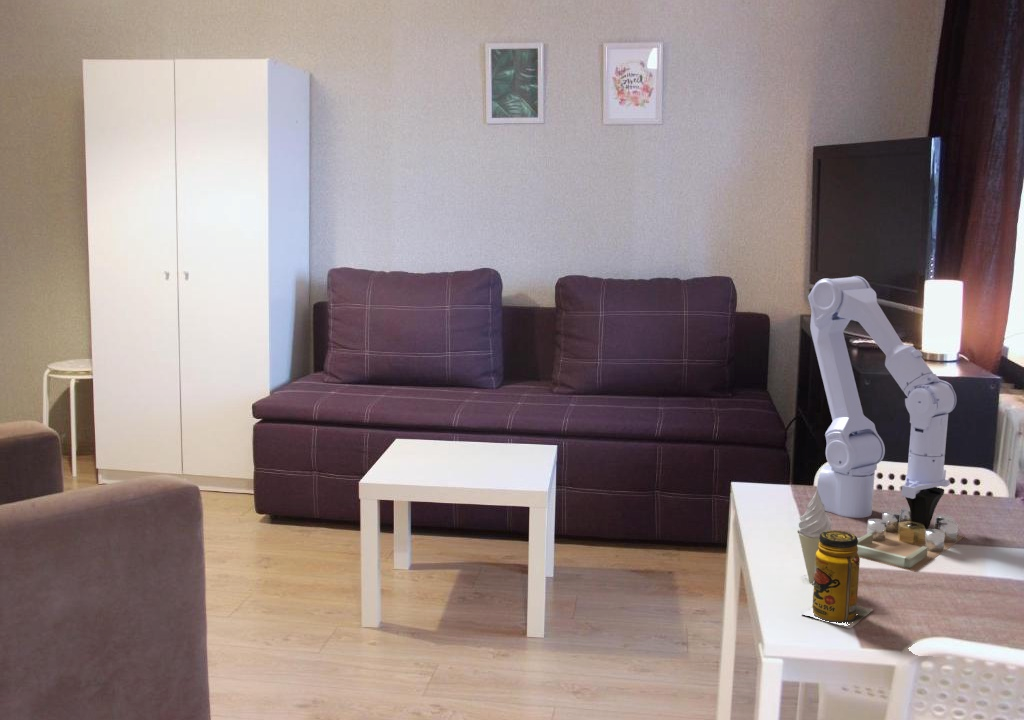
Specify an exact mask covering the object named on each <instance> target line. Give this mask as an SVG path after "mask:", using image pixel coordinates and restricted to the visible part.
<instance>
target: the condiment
mask: <svg viewBox="0 0 1024 720" xmlns="http://www.w3.org/2000/svg"><path fill="white" fill-rule="evenodd" d="M819 539H820V540H819V541H820V542H819V545H818V547H819V549H818V551H817V552H816V557H815V574H814V581H813V590H812V591H813V593H812V607H813V613H814V616H815V617H818V618H820V619H822V620H825V621H829V622H836V623H837V622H838V623H842V622H843V623H845V622H846V624H847V622H848V624H850V625H848V624H847V625H848V626H844V625H839V626H840V627H844V628H847V629H852V628H853V627H854V626H856V625H857V624H858V623H859V622H860V621H862V620H863V619H864V618H865V617H866V616H869V614H870V613H871V612H872V611H874V608H871V607H865V606H859V605H858V593H859V591H858V590H859V575H860V561H861V560H860V559H861V558H859V555H858V553H857V551H858V547H857V544H858V539H859V538H858V537H857V536H856V535H855V534H853V533H851V532H848V531H843V530H834V529H833V530H832V529H831V531H825V532H823V533H821V534H820V537H819ZM856 614H858V615H856ZM852 622H853V623H852Z"/></svg>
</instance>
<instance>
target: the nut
mask: <svg viewBox="0 0 1024 720" xmlns="http://www.w3.org/2000/svg"><path fill="white" fill-rule="evenodd" d="M925 530H926V528H925V526H924V524H921V523H916V522H912V521H906V522H899V523H898V539H899V541H902V542H906V543H910V544H918V543H924V542H925Z"/></svg>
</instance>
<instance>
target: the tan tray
mask: <svg viewBox="0 0 1024 720" xmlns="http://www.w3.org/2000/svg"><path fill="white" fill-rule="evenodd" d="M928 529H932V528H931V527H929V528H928ZM872 537H873V534H870V533H867V532H866V534H864V535H862V536H861V537H859V538H857V539H858V544H857V547H858V551H857V553H858V555H859V558H860V559H864V560H867V561H872V562H874V563H879V564H884V565H886V566H890V567H894V568H895V567H896V568H899V569H902V570H907V571H910V572H914V573H916V572H917V571H919V570H920V569H921V568H923V567H925V566H926V565H927V564H928V563H930V562H931V561H932V560H934V559H935V558H937V557H938V556H940V555H941V554H942V553H944V552H946V551H947V550H949V549H950V548H951V547H953V546H954V545H955V544H957V543H958V542H959V541H961V540H963V538H965V537H966V535H961V534H957V541H956V542H955V543H945V542H944V550H943V552H930V551H927V550H928V547H924V543H918V544H910V543H906V542H902V541H899V539H898V532H895V533H892V532H886V537H885V540H884V541H872Z"/></svg>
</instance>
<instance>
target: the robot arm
mask: <svg viewBox="0 0 1024 720" xmlns="http://www.w3.org/2000/svg"><path fill="white" fill-rule="evenodd" d="M877 297H878V296H877V293H876V291H875V290H874V289H873V288H872V287H871V285H870V283H869V282H868V281H867V280H866V279H865V278H864V277H863V276H859V275H853V276H848V277H838V278H837V277H836V278H822V279H819V280H818V281H817V282H815V284H814V285H813V287H812V289H811V291H810V292H809V294H808V296H807V299H808V301H809V303H808V304H809V307H810V311H811V313H810V315H811V316H810V323H809V325H810V326H809V328H810V334H811V337H812V342H813V346H814V351H815V354H816V357H817V358H816V359H817V362H818V366H819V370H820V375H821V379H822V382H823V386H824V391H825V395H826V399H827V404H828V408H829V412H830V415H831V420H832V422H831V424H830V425H829V426H828V428H827V430H826V431H825V434H824V436H825V440H826V447H825V457H826V461H827V463H828V464H827V465H825V466H823V467H822V468H821V470H820V472H819V474H818V478H817V484H816V490H818V493H819V496H820V498H821V501H822V503H823V505H824V507H825V512H829V513H832V514H835V515H838V516H841V517H846V518H854V519H855V518H856V519H858V518H859V519H861V518H862V519H863V518H866V517H870V516H871V515H872V513H873V501H874V487H875V486H874V485H875V476H876V475H875V473H876V472H875V471H877V469H878V466H877V465H878V464H879V463H881V462H882V461H883V459H884V457H885V454H886V448H885V443H884V441H883V438H881V436H880V435H879V434H878V431H877V429H876V425H875V423H874V422H873V421H871V420H870V419H869V418H868V417H867V416H865V415H864V411H863V407H862V405H861V404H862V403H861V400H860V396H859V392H858V387H857V384H856V380H855V375H854V371H853V366H852V363H851V359H850V355H849V352H848V350H849V349H848V347H847V342H846V340H845V339H846V338H845V334H844V331H845V329H846V328H847V326H848V325H849V323H850V321H854V322H858V323H859V324H860V326H862V328H863V329H864V330H865V332H866V333H867V334H868V335H869V336H870V338H871V339H872V340H873V341H874V343H875V344H876V345H877V346H878V347H879V349H880V350H881V351H882V352H883V353H884V354H885V360H884V366H885V368H886V369H887V371H888V372H889V373H890V375H891V376H892V378H893V379H894V380H895V382H896V383H897V384H898V387H900V389H901V391H902V392H903V393H904V395H905V396H906V397H907V398H904V405H905V407H906V410H907V412H908V413H909V423H910V435H909V447H908V458H907V459H908V460H907V461H908V462H907V471H906V473H907V474H906V475H905V478H904V479H905V480H904V484H903V485H902V487H901V488H902V489H901V497H903V498H905V499H906V503H907V504H908V507H909V508H910V512H911V518H912V522H916V523H921V524H924V526H925V528H926V529H928V528H930V525H931V522H932V519H933V516H934V513H935V511H936V508H937V505H938V504H939V501H940V500H941V498H942V497H943V496H944V495H945V489H944V488H946V487H948V486H950V483H951V480H948V479H946V477H947V476H946V474H947V473H946V472H947V470H946V469H944V468H945V457H946V444H947V434H948V421H949V414H950V413H951V412H953V410H954V409H955V407H956V405H957V394H956V392H955V391H956V390H954V387H953V385H952V384H951V383H949V382H948V381H945V380H942V379H940V378H939V377H938V374H936V373H934V372H933V371H932V369H931V368H930V367H929V365H928V364H927V363H926V361H925V360H924V359H923V357H924V356H923V353H922V352H921V350H920V349H916V347H914V346H913V345H907V344H904V343H903V341H902V340H901V338H900V337H899V335H898V334H897V332H896V330H895V329H894V327H893V325H892V323H891V322H890V321H889V319H888V318H887V316H886V314H885V313H884V311H883V309H882V308H881V306H880V305H879V303H878V300H877V299H878V298H877ZM942 487H943V488H942Z"/></svg>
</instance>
